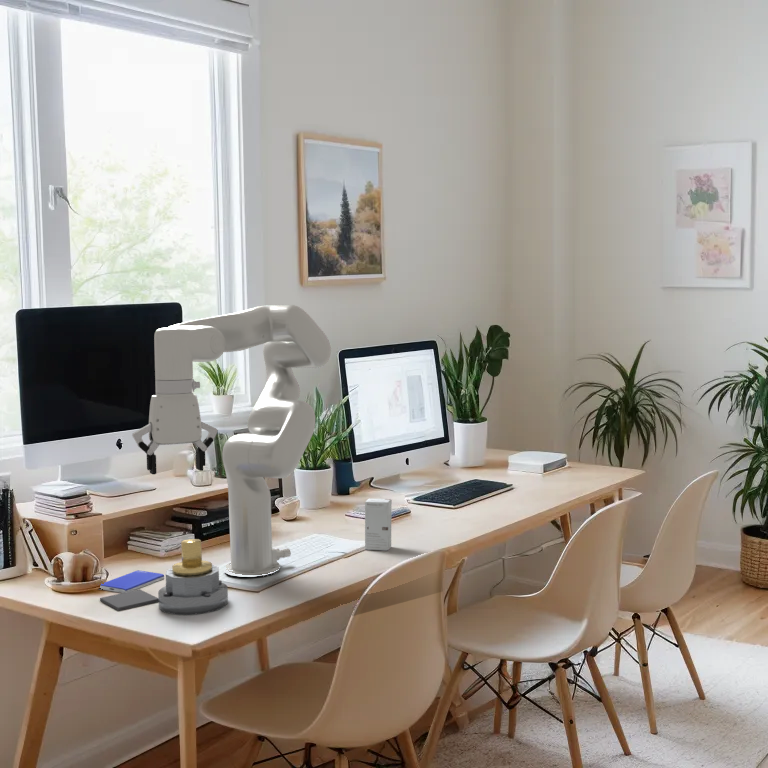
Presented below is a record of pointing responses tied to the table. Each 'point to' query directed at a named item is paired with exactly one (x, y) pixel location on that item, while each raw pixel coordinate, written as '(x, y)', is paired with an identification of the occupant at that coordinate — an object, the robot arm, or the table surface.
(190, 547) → the brass flanged shaft
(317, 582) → the table surface
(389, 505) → the skincare box
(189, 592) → the housing
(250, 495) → the robot arm
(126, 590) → the hard drive
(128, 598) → the mat
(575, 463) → the table surface
